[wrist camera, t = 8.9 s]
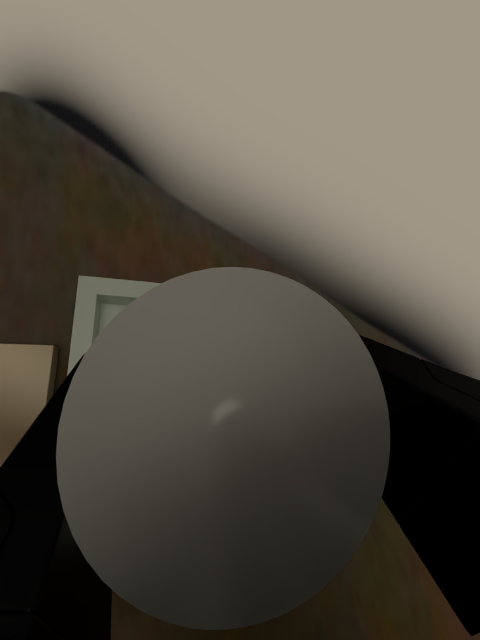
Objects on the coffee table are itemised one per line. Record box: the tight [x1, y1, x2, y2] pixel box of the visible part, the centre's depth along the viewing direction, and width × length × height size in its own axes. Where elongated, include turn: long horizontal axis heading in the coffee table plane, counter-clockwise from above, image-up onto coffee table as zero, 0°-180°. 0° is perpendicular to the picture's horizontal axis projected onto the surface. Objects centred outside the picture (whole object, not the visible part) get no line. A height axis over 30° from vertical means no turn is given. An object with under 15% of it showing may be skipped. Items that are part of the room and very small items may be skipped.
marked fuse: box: [56, 267, 390, 630], centre depth 9 cm, size 4×4×12 cm
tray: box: [67, 276, 162, 376], centre depth 15 cm, size 10×10×2 cm
